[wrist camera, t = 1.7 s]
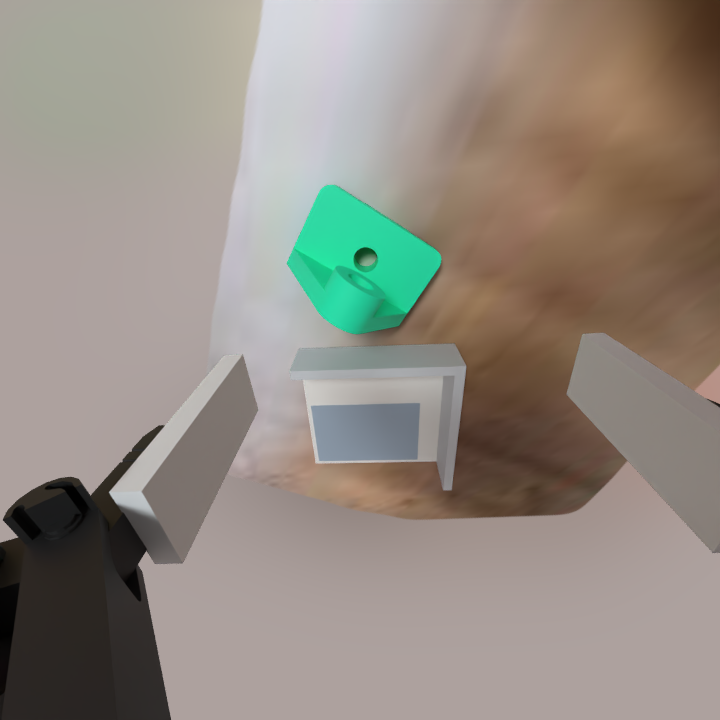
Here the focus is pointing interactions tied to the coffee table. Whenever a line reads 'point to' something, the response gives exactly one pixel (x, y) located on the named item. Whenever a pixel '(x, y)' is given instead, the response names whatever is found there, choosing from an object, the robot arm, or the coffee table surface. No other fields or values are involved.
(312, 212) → the camera mount
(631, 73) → the coffee table surface
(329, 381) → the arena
